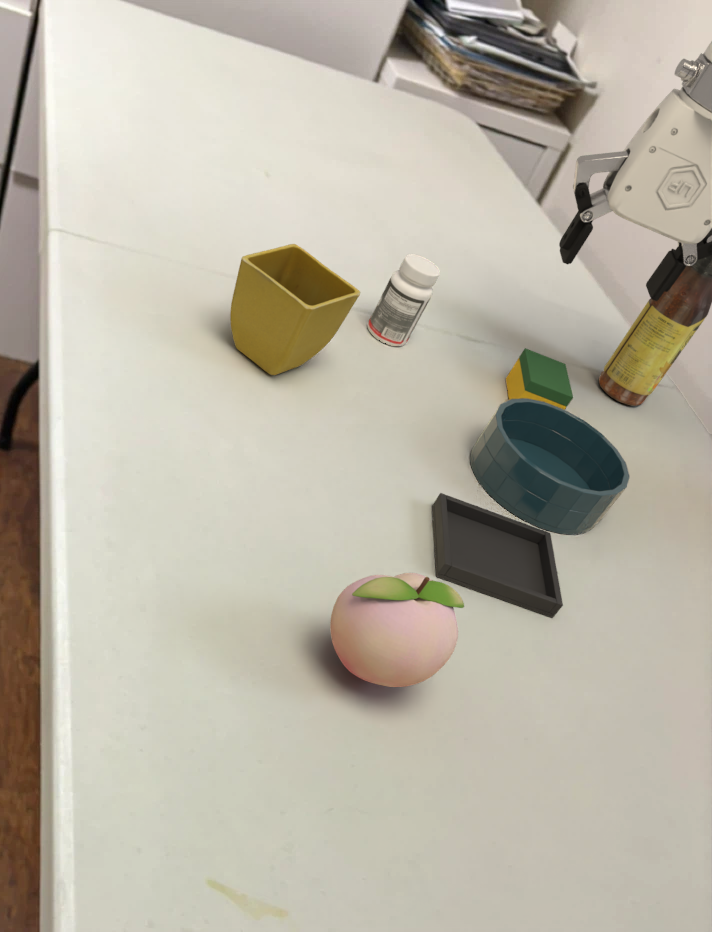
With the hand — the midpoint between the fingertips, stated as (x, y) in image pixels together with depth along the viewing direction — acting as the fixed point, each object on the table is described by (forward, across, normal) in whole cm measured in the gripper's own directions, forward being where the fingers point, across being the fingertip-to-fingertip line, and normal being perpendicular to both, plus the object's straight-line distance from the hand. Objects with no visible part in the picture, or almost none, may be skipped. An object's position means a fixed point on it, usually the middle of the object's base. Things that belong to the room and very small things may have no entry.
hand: (607, 275), depth 107 cm
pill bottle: (+16, -16, +5) cm, 23 cm away
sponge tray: (+16, -6, -29) cm, 34 cm away
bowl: (+16, 0, -14) cm, 21 cm away
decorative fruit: (+16, -18, -49) cm, 55 cm away
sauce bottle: (+16, +14, +12) cm, 25 cm away
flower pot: (+16, -29, -9) cm, 34 cm away
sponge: (+16, +1, +2) cm, 16 cm away
